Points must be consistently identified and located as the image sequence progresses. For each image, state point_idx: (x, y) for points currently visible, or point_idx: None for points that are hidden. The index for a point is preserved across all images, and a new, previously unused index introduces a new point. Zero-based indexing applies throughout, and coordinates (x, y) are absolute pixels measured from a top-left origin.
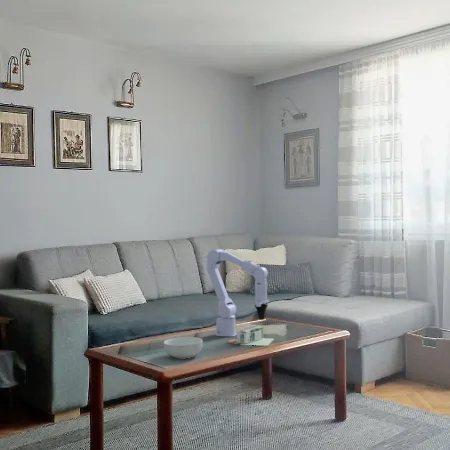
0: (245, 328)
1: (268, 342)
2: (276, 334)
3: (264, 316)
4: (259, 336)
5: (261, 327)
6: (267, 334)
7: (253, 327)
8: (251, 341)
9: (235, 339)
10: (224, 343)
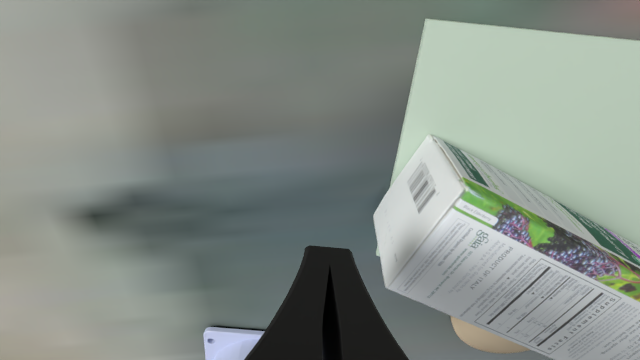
0: (537, 343)
1: (637, 61)
2: (146, 11)
3: (314, 268)
4: (500, 175)
5: (486, 208)
6: (171, 111)
7: (485, 286)
8: (584, 217)
9: (454, 321)
10: (539, 357)
